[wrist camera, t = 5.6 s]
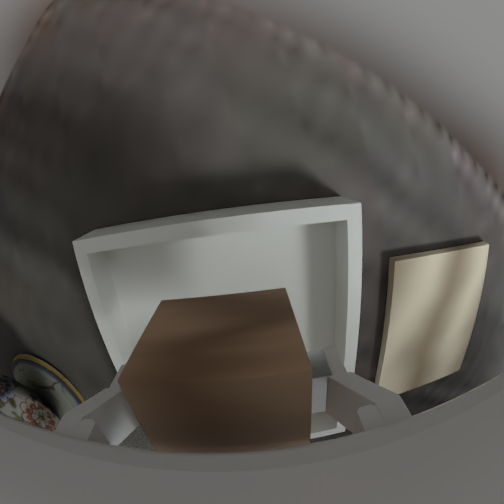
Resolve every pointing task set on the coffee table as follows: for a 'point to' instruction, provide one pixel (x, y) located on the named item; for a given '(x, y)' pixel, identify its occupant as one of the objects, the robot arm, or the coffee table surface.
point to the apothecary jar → (37, 393)
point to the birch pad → (429, 314)
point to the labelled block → (221, 375)
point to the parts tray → (233, 271)
